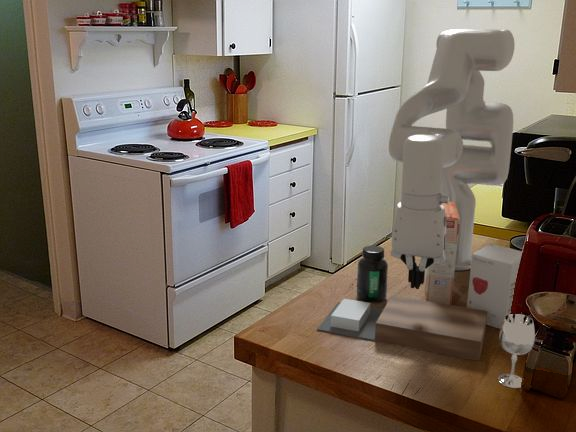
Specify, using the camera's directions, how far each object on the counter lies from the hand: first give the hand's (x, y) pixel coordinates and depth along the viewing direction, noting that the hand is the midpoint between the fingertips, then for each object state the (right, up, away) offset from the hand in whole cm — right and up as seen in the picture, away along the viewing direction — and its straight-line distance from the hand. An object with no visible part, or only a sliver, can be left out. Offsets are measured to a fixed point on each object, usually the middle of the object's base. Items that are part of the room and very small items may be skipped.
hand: (415, 285), depth 124 cm
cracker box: (+9, -4, +20) cm, 22 cm away
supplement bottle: (-7, -5, +18) cm, 20 cm away
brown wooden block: (+3, -10, 0) cm, 11 cm away
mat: (-12, -8, +6) cm, 16 cm away
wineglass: (+14, -15, -16) cm, 26 cm away
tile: (-13, -6, +5) cm, 15 cm away
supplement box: (+18, -8, +8) cm, 22 cm away
